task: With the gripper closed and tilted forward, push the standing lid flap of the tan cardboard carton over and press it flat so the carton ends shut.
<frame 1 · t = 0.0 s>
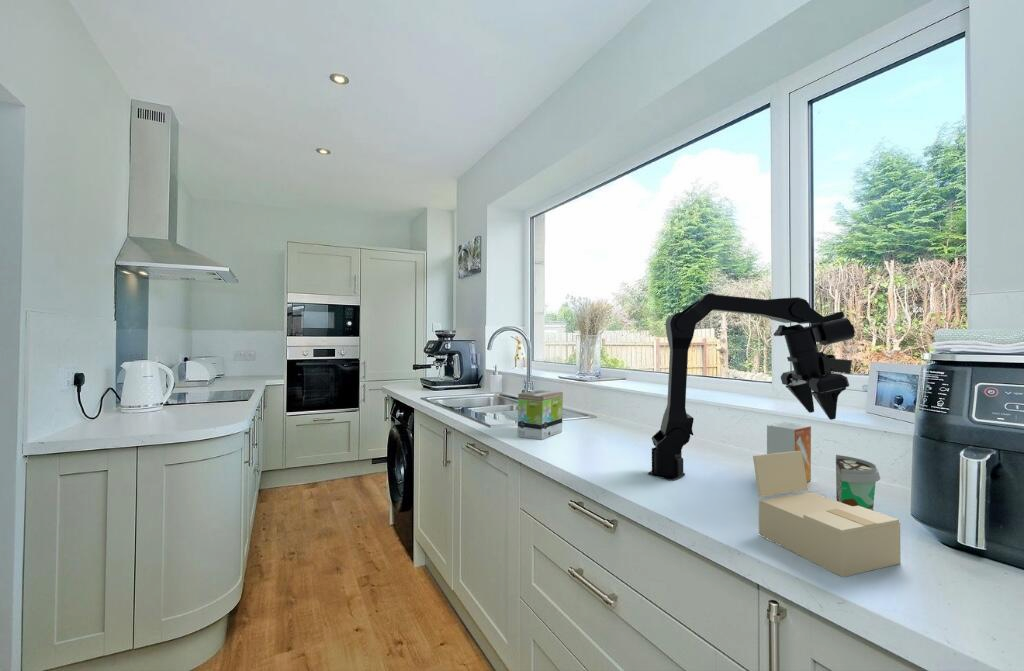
hand: (821, 415, 103), 15 cm above the worktop, tool pointing down, fingers open, 9 cm apart
lid flap: (780, 473, 79), point 10 cm above the worktop, hinge at 100.0°
tea box: (540, 435, 155), on the worktop
small box: (789, 481, 104), on the worktop
carton: (824, 548, 71), on the worktop
food container: (859, 518, 83), on the worktop
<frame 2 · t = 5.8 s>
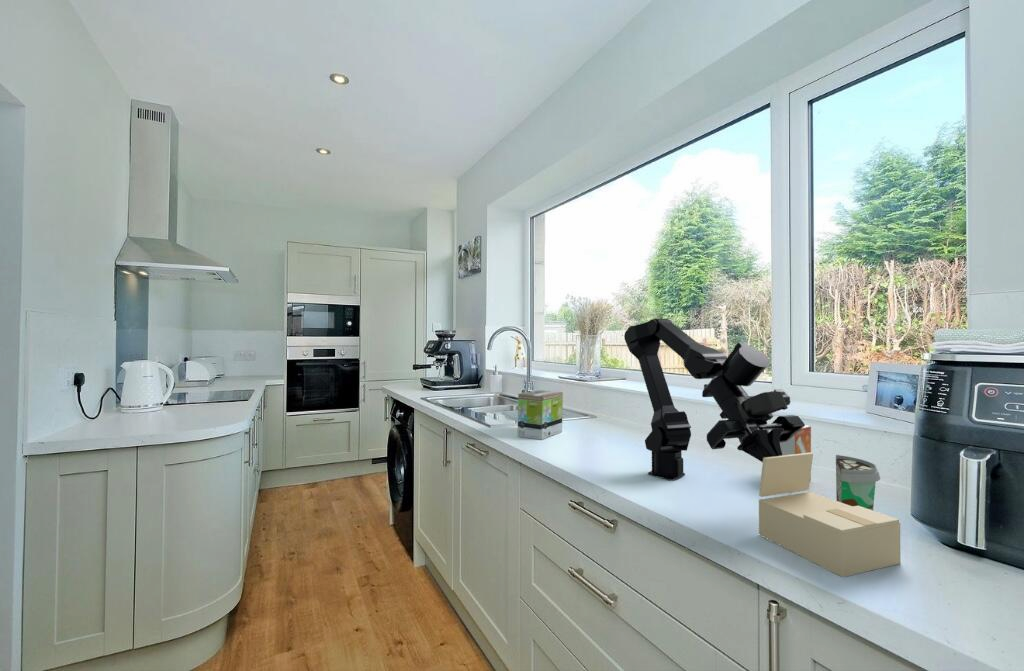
hand: (783, 472, 78), 10 cm above the worktop, tool tilted 45°, fingers closed, pressing on lid flap
lid flap: (786, 474, 77), point 10 cm above the worktop, hinge at 82.1°, touching gripper
everything else where it was.
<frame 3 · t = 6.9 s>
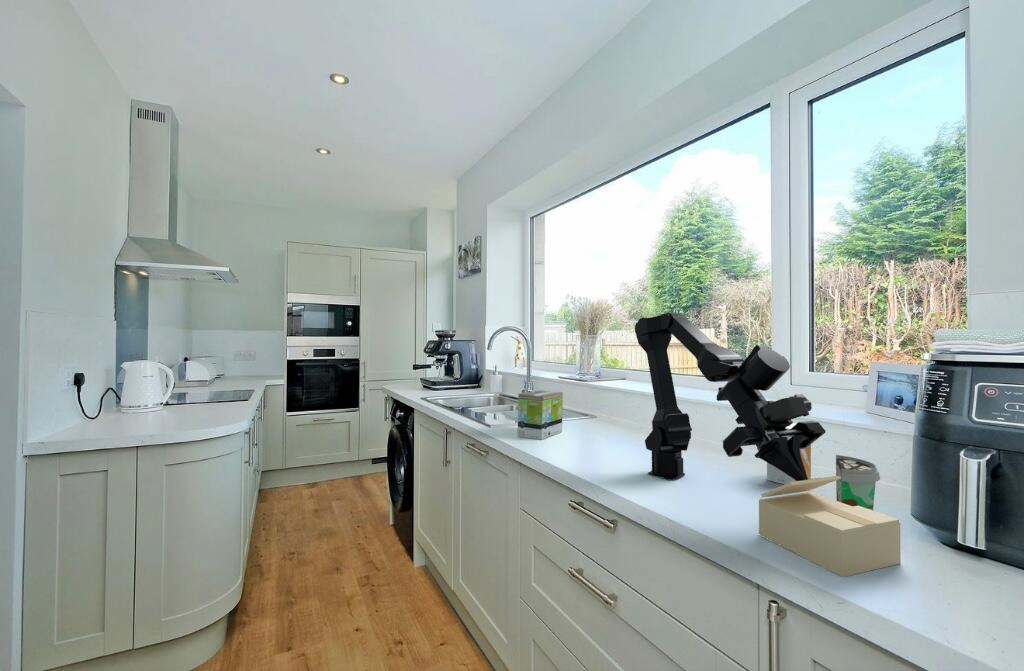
hand: (804, 482, 74), 9 cm above the worktop, tool tilted 45°, fingers closed, pressing on lid flap
lid flap: (800, 486, 75), point 9 cm above the worktop, hinge at 34.4°, touching gripper
everything else where it was.
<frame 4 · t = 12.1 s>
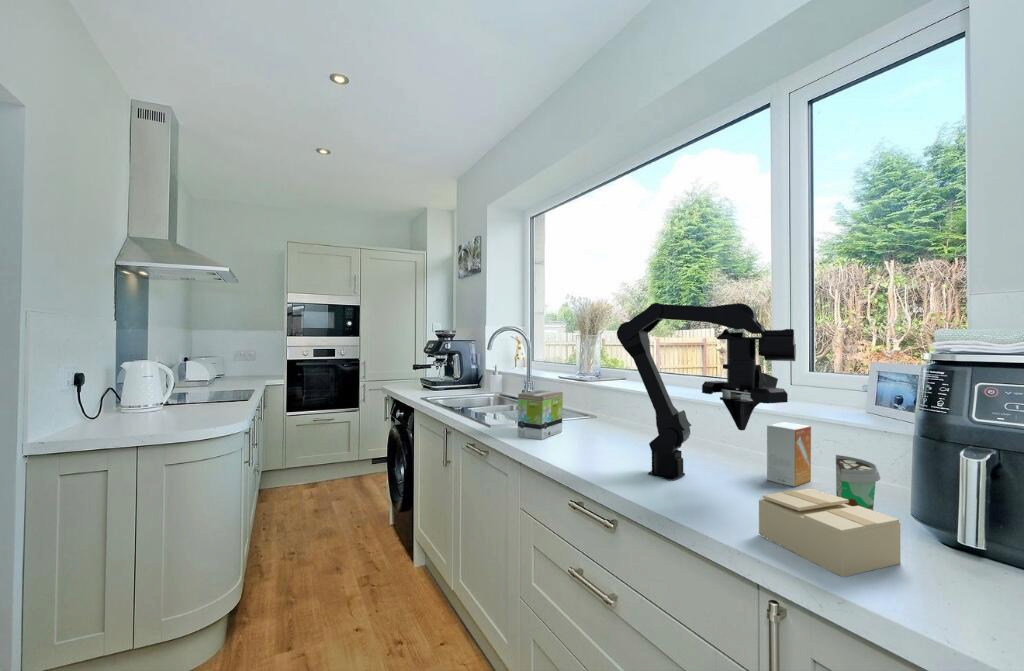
hand: (741, 430, 99), 13 cm above the worktop, tool pointing down, fingers closed
lid flap: (804, 498, 74), point 7 cm above the worktop, hinge at 2.9°
everything else where it was.
at the end: lid flap at +3° (first picture: +100°); the gripper is holding nothing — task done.
